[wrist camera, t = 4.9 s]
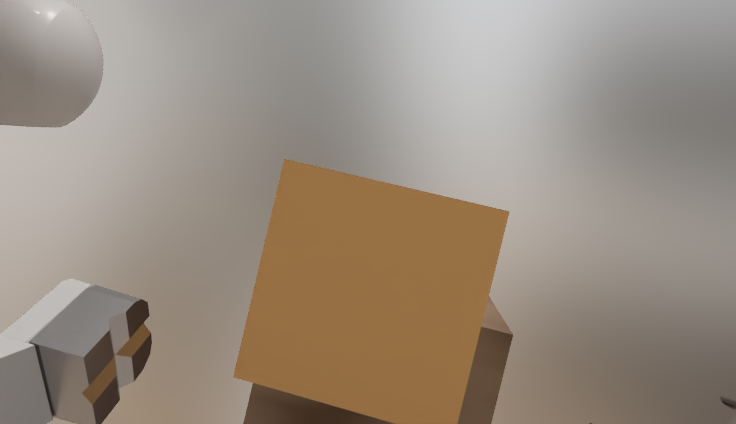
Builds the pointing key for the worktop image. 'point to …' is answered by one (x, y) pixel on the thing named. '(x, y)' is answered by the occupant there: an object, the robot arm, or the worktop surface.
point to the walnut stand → (319, 420)
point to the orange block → (370, 295)
